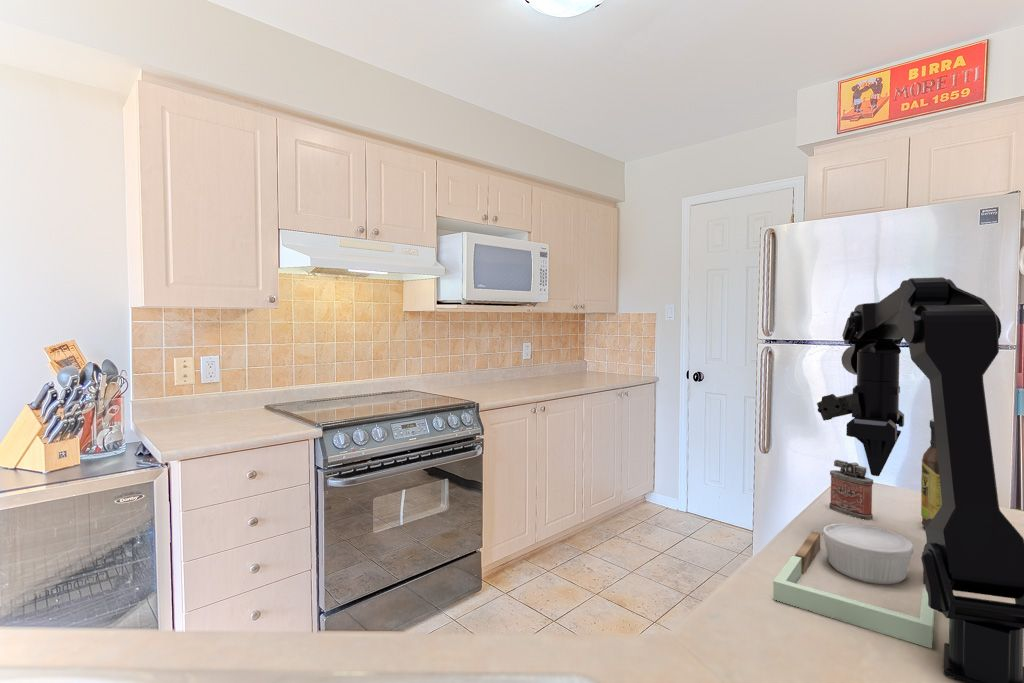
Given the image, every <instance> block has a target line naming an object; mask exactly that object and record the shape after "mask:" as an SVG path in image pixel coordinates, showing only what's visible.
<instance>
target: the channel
mask: <svg viewBox="0 0 1024 683" xmlns="http://www.w3.org/2000/svg"><path fill="white" fill-rule="evenodd" d="M820 549H821V532H818V531H811V532H810V533H809V535H808V536H807V538H806V539H805V540H804V542H803V543H802V545H801V546H800V547H799V549H798V550H797V552H796V553H795V554H794V556H797V557H801V558H802V560H801V574H802V575H805V573H806V571H807V570H808V568H809V567H810V565H811V564H812V561H813V560H814V559H815V557H816V556H817V554H818V553H819V551H820ZM922 579H923V580H922V583H923V584H924V585H926V584H925V575H924V570H923V576H922Z"/></svg>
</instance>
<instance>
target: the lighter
mask: <svg viewBox="0 0 1024 683" xmlns="http://www.w3.org/2000/svg"><path fill="white" fill-rule="evenodd" d="M833 467H837V468H840V469H839V470H836V469H833V470H829V476H830V502H829V506H828V507H829V509H830V510H833V511H835V512H837V513H840V514H842V515H845V514H846V515H845V516H848V515H850V517H851V516H852V518H855V517H856V519H859V518H860V519H859V520H862V519H864V520H863V521H873V517H874V514H873V513H872V512H873V511H872V510H873V508H872V507H873V485H874V479H873V478H869V477H867V476H866V475H867V467H865V466H862V465H859V463H857V462H848V461H844V460H840V459H835V460H834V461H833Z"/></svg>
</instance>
